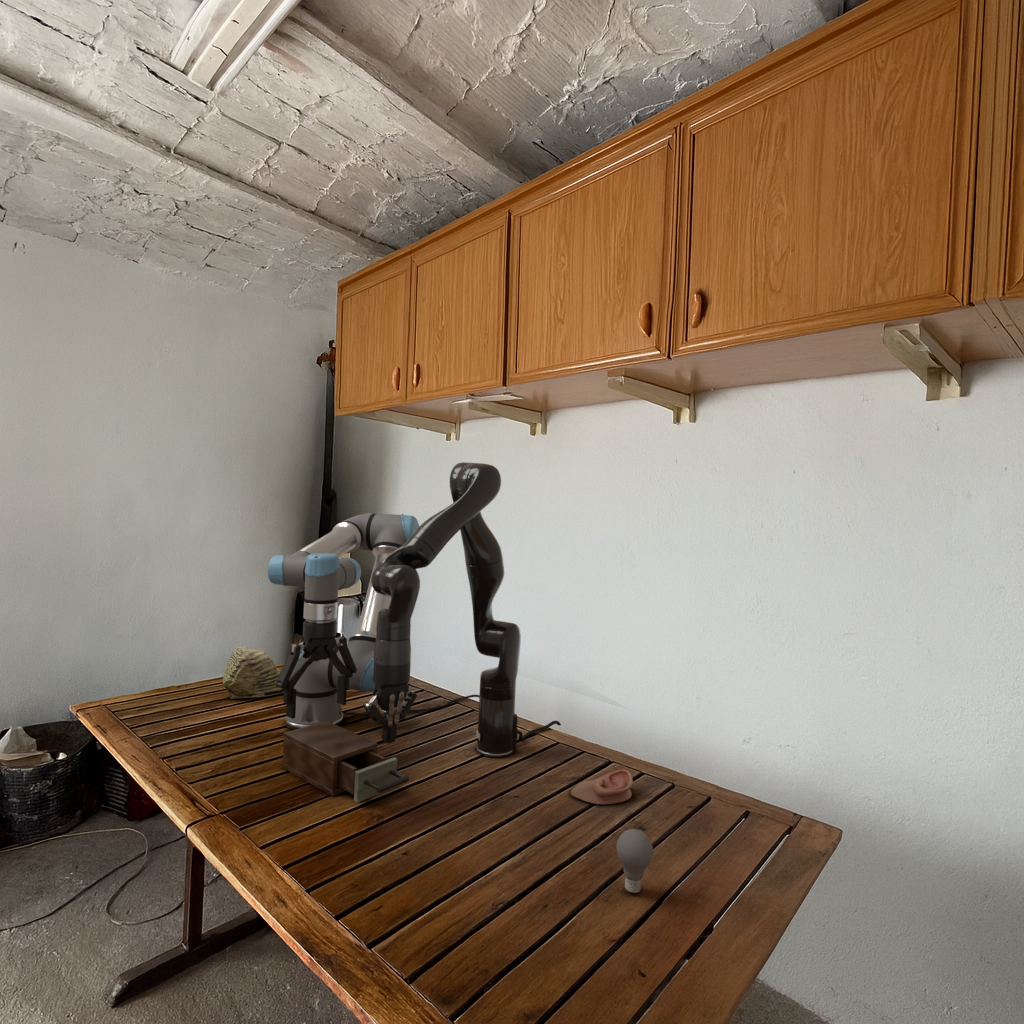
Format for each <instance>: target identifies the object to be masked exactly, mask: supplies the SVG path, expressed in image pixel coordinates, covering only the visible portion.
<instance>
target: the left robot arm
mask: <svg viewBox="0 0 1024 1024" xmlns="http://www.w3.org/2000/svg"><path fill="white" fill-rule="evenodd" d="M419 526H420V523H419V521H418V519H417V518H416V517H415V516H414V515H410V514H404V513H401V514H393V513H375V512H374V513H372V512H366V513H361V514H358V515H355V516H352V517H349V518H347V519H345V520H342V521H340V522H339V523H336V524H335V526H333V528H332V530H331V531H330V532H328V533H326V534H324V535H323V536H322V537H320V538H318V539H316V540H314V541H313V542H311V543H309V544H308V545H305V546H304V547H303V548H301V549H299V550H298V551H295V552H294V553H292V554H289V555H286V554H277V555H274V556H272V557H271V559H270V560H269V561H268V564H267V569H266V571H267V572H266V573H267V578H268V580H269V582H270V583H271V584H273V585H278V586H279V585H280V586H283V587H303V588H304V599H303V600H304V601H303V615H302V617H303V619H304V622H303V625H302V637H303V641H302V642H299V643H298V644H296V643H291V644H290V646H289V651H288V655H287V658H286V659H285V662H284V664H283V667H282V668H281V670H280V672H281V673H280V675H279V677H278V679H277V681H276V686H277V687H279V688H282V689H284V692H283V704H285V726H286V728H287V729H289V730H291V731H292V730H296V729H299V728H303V727H306V726H310V725H314V724H317V723H321V722H324V721H328V722H330V723H333V724H335V725H337V726H339V727H340V725H342V723H343V722H344V715H345V716H347V715H349V716H370V715H369V714H368V712H352V711H351V712H350V711H343V709H342V706H346V705H347V695H348V693H347V691H348V690H351V691H361V692H363V693H364V692H365V693H366V692H373V691H374V688H375V684H374V681H373V672H374V649H375V643H376V628H377V616H378V613H379V611H381V610H382V609H385V608H389V605H390V602H391V597H390V596H385V595H381V594H379V593H377V592H376V591H375V590H374V589H373V587H372V583H371V578H372V574H373V572H374V570H375V568H376V567H377V565H378V564H379V563H380V562H381V561H382V560H383V559H384V558H386V557H387V556H388V555H390V554H391V553H392V552H394V551H395V550H396V549H398V548H399V547H401V546H402V545H404V544H405V543H406V542H407V540H408V539H409V538H410V537H411V536H412V535H413V533H414V532H415V531H416V530H417V529H418V528H419ZM356 551H371V552H372V555H373V556H374V557H375V560H374V563H373V567H372V572H371V575H370V579H369V582H368V588H367V591H366V594H365V599H364V601H363V606H362V610H361V613H360V617H359V621H358V625H357V629H356V632H355V633H353V634H352V635H350V636H349V638H347V637H345V636H342V635H338V636H337V630H338V629H337V628H338V622H337V621H336V620H337V618H338V600H339V591H341V590H344V589H345V590H346V589H351V587H353V586H355V585H357V584H358V582H359V581H360V579H361V576H362V568H361V565H360V564H359V562H358V561H357V560H355V559H354V558H351V557H342V556H344V555H346V554H351V553H354V552H356ZM336 636H337V637H336ZM479 696H480V694H470V695H466V696H462V697H459V698H458V697H457V698H454V699H452V700H450V701H448V702H446V703H444V704H440V705H437V706H433V707H432V706H431V707H426V708H419V709H416V708H415V709H410V710H409V712H408V713H420V712H427V711H428V712H429V711H433V710H438V709H441V708H444V707H445V708H446V707H447V706H450V705H451V704H453V703H455V702H459V701H463V700H467V699H471V698H479ZM341 705H342V706H341ZM403 709H404V708H403ZM403 709H402V711H403Z"/></svg>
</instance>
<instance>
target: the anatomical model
mask: <svg viewBox="0 0 1024 1024" xmlns="http://www.w3.org/2000/svg"><path fill="white" fill-rule="evenodd" d="M633 781H634V780H633V777H632V775H631V773H630V771H629V770H627V769H618V770H615V771H611V772H608V773H606V774H603V775H601V776H599V777H597V778H595V779H592V780H583V781H581V782H579V783H577V784H576V785H575V786H574V787H573V788H572V789H571V791H570V795H571V796H572V797H574V798H576V799H579V800H581V801H584V802H587V803H590V804H594V805H612V804H618V803H623V802H626V801H628V800H629V799H631V797H632V795H633V793H632V791H631V788H632V787H633V783H634V782H633Z"/></svg>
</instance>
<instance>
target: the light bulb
mask: <svg viewBox="0 0 1024 1024" xmlns="http://www.w3.org/2000/svg"><path fill="white" fill-rule="evenodd" d="M615 849H616V854H617V857H618V859H619V861H620V863H621V865H622V867H623V873H624V874H623V875H624V876H625V878H624V888H625V890H627V891H628V892H630V893H634V894H635V893H639V892H640V891H641V889H642V887H641V886H642V879H643V877H644V875H645V871H646V868H647V867H648V866H649V864H650V863H651V861H652V859H653V855H654V847H653V843H652V841H651V838H649V836H648V835H647V834H646V833H645V832H643V831H642V830H641V829H636V828H629V829H627V830H625V831H623V832H622V833H621V834H620V835H619V837H618V839H617V841H616V847H615Z"/></svg>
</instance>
